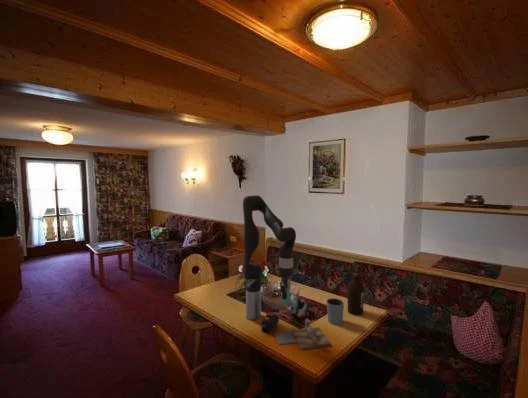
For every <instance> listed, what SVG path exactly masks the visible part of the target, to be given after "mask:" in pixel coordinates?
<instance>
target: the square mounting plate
mask: <svg viewBox="0 0 528 398" xmlns="http://www.w3.org/2000/svg"><path fill="white" fill-rule="evenodd" d="M304 319H305V320H304V328H302V329H301V328H300V329H299V328H298V329H292V330H291V331H292V333H293V335H294V336H295V338H296V340H297V343H296V344H298V346H299V349H300V350H308V349H315V348H325V347H332V342H330V340H329V339H328V338H327V337H326V335H325V334H324V332H323V330H321V328H320V327H319V326H318V327H315V326H310V323H311V320H310V318H304Z"/></svg>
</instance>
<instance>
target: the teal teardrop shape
mask: <svg viewBox="0 0 528 398" xmlns="http://www.w3.org/2000/svg"><path fill="white" fill-rule="evenodd" d="M290 284H291V283H290ZM290 284H288V288H287V299H286V300H285V299H282V292H281V291H280V295H281V296H280V299H281V300H277V303H278V304H281V305H283V306H286V305H290V304H292V305H294V302H290V295H291V285H290ZM286 286H287V285H286ZM283 290H284V289H283Z"/></svg>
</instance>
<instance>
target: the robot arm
mask: <svg viewBox="0 0 528 398" xmlns="http://www.w3.org/2000/svg"><path fill="white" fill-rule="evenodd" d="M257 211H259V212H260V213H261V214H263V221H264V223H265V225H266V226H268V228H269V229H270V230H271V231H272V232H273V234H274V237H275V238H276V239H277V241H279V242H281V243H284V244H282V245H281V246H279V248H278V249H279V250H278V253H279V254H278V255H279V256H278V276H282V277H281V279H280V280H281V281H280V282H279V284H280V293H281V292H282V299H285V300H286V299H287V288H288V284H290V286H291V280H292V275H293V274H294V259H293V257H294V256H293V254H294V253H293V251H294V246H295V243H296V238H297V234H296V230H295V228H293V227H290V226H289V227H284V222H283V221H282V220H281V219H280V218H279V217H278V216H277V215H276V214H275V213H274V212H273V211H272V210H271V209H270V207H269V206H268V205H267V203H266V202H265V200H264V199H263V198H262V196H260V195H256V194H255V195H254V194H253V195H245V197H244V198H243V201H242V212H243V225H244V226H243V227H244V228H243V230H244V231H243V244H244V245H243V249H244V252H243V254H244V255H243V268H242V269H243V271H242V272H243V278H244V279H245V280H252V281H250V282H249V283H247V284H246V285H245V317H246V319H248V320H250V321H255V320H259V319H260V318H261V317H262V266H261V263H257V262H256V263H251V259H252V257H253V255H254V253H255V252H256V250H257V249H258V247H259V245H260V231H259V229H258V227H257V225H256V223H255V222H254V218H253V212H257ZM286 285H287V286H286ZM283 289H284V290H283Z"/></svg>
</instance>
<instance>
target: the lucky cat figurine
mask: <svg viewBox="0 0 528 398" xmlns="http://www.w3.org/2000/svg"><path fill="white" fill-rule="evenodd" d="M290 302H294V305H292V304H290V305H285V307H286V309H287V310H288V312H289V313H290V314H293V315H295V316H297V317H298V318H300V319H306V318H307V317H309V314H310V312H309V308H310V307H309V306H310V305H309V303H308V302H306V300H305V299H303V298H302V299H301V298H299V297H298V295H295V294H294V293H293V292H292V293H290Z"/></svg>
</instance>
